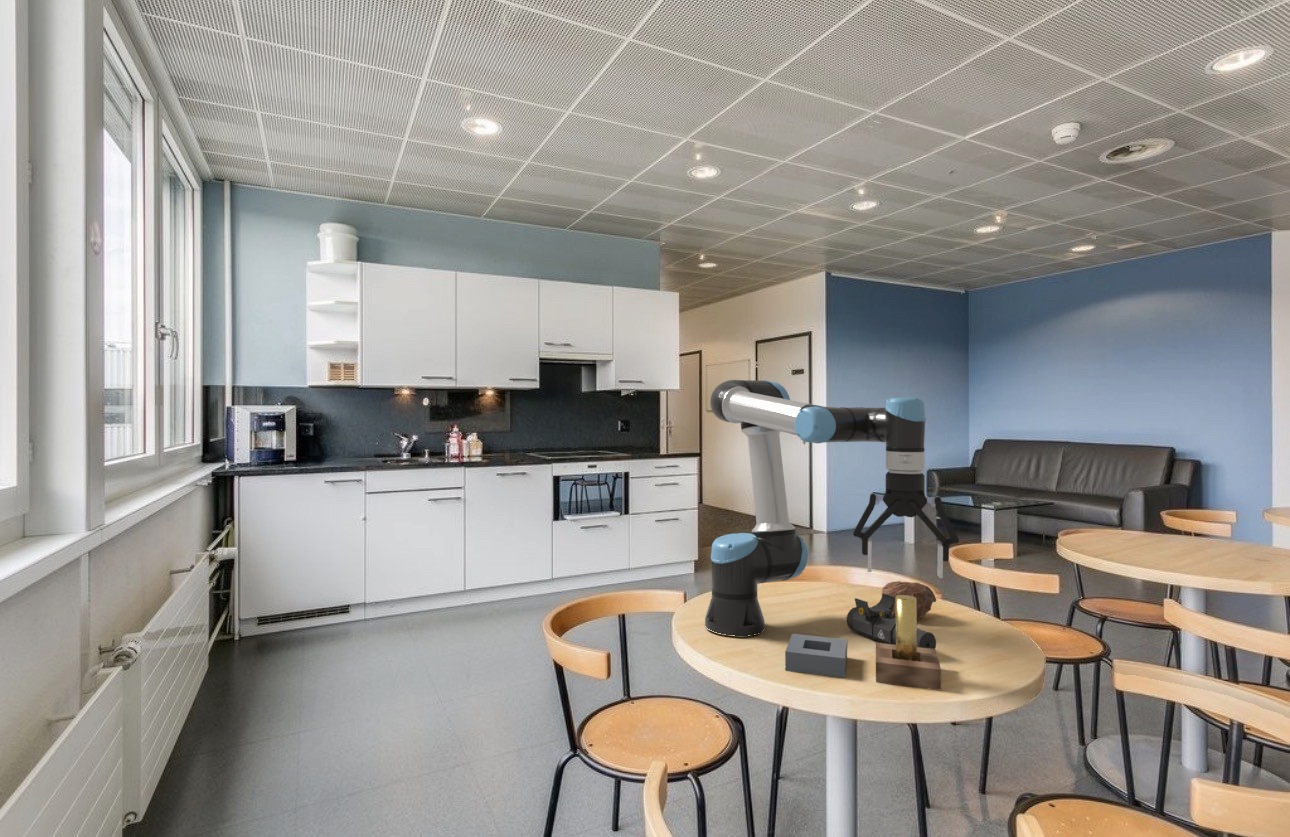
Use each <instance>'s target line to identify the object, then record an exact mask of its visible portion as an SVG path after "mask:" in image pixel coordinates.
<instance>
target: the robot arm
mask: <svg viewBox="0 0 1290 837" xmlns="http://www.w3.org/2000/svg"><path fill="white" fill-rule="evenodd" d="M710 408H711V411H712V413H713V414H714V415H715V417H716V418H718V419H719V420H721V421H723V422H726V423H731V424H740V427H741V428H740V429H741V430H740V431H741V432H742V433H743V434H744V435H745V436H747V442H748V452H749V461H750V471H751V472H750V473H751V481H752V492H753V500H754V502H753V503H754V511H755V521H756V524H755V526H754V528H752V530H751V533H747V532H738V533H728V534H724V535H722V536H718V537H716V538H715V539H714V540H713V542H712V544H711V554H710V560H711V599H710V601H709V604H708V607H707V611H706V614H705V617H704V626H706V627H707V628H708V629H710V630H712V631H714V632H717V633H721V634H726V635H735V636H747V637H749V636H748V635H754V634H757V635H759V634H758V633H760V634H762V633H763V632H764V631H765V630H764V629H766V628H765V626H766V625H765V617H764V614H763V611H762V608H761V605H760V602H759V599H758V598H759V597H758V585H759V584H765V583H771V582H772V583H774V582H779V581H788V580H789V579H790V580H791V579H794V578H795V579H796V578H797V577H798V576H800V575H801V574H802V573H803V571H804V570H805V569H806V568H807V564H808V559H809V553H808V552H809V550H808V547H807V543H806V542H804V539H803V537H801V536H800V535H799V534H797V530H796V526H794V525H793V524H792V523H791V522H790V520H789V510H788V502H787V492H786V491H787V490H786V483H785V476H784V475H785V473H784V465H783V457H782V456H783V455H782V447H781V438H780V433H781V432H783V433H786V434H791V435H795V436H798V438H800V440H801V441H803V442H806V443H813V444H823V443H824V444H825V443H852V442H853V443H854V442H855V443H857V442H861V443H862V442H863V443H864V442H870V443H871V442H872V443H874V442H875V443H876V442H877V443H885V469H886V470H887V472H886V473H885V492H884V495H883V494H876V493H875V492H871V493H870V494H869V501H868V504H867V506H866V508H865V509H864V512H863V513H862V515H861V517H860V519H859V520H858V522H857V524H856V526H855V528H854V529H853V533H852V535H853V537H857V538H859V539H860V540H861V543H862V544H861V554H862V555H863V556H867V573H872V564H873V563H872V555H873V554H872V553H873V552H872V549H873V546H872V545H873V544H872V543H873V542H872V541H873V539H872V538H870V537H872V535H873V534H874V533H875V532H876V531H878V529H879V528H880V527H881V526H882V525H883V524H884V523H885V522H886V521H887V520H888V519H889V518H890V517H891V516H892V515H894V516H896V517H897V518H898V517H899V518H902V517H906V518H915V517H918V518H919V519H920V520H921V521H922V522H923V523H924V524H925V525H926V526H927V528H928V529H929V530H930V531H931V532H932V533H933V535H934V536H935V537H936V538H937V539H938V540H939V542H940V543H938V542H937V578H938V579H943V578H944V577H943V576H944V574H943V572H944V562H949V560H950V545H953V544H958V543H959V542H960V539H959V536H958V535H957V533H956V531H955V529H954V528H953V526H952V524H951V522H950V520H949V517H948V516H947V514H946V513H945V511H944V508H943V503H942V498H941V497H940V496H939V495H934V496H930V497H929V496H927V497H926V494H925V486H926V485H925V481H926V480H925V478H926V476H925V474H924V473H922V472H923V471H925V470H926V467H925V464H926V462H925V460H926V458H925V454H926V452H925V434H926V433H925V432H926V421H927V420H926V419H927V418H926V412H925V408H926V407H925V402H924V400H923V399H922V398H919V397H893V398H891V397H890V398H888V399H886V402H885V407H863V406H860V407H858V406H857V407H835V406H834V407H833V406H823V405H819V404H812V403H807V402H802V401H796V400H791V399H790V396H789V394H788V391H787V389H786V388H785V387H784V386H783V385H781V383H778V382H776V381H769V380H766V379H764V380H752V379H751V380H749V379H748V380H746V379H745V380H742V379H729V380H726V381H723V382H721V383H719V384H718V385H717V386H716V387H715V388H714V389H713V391H712V393H711V396H710ZM882 501H883V504H885V505H886V507H887V508H885V509H884V511H883V512H882V513H881V514H880V515H879V516H878V517H877V518H876V519H875V520H874V522H872V524H871V525H870V526H869V527H868V528H867V529H866V530H865V531H863V528H864V527H865V525H866V523H867V521H868V520H869V518H870V516H871V514H872V512H873V511H874V509H875V506H876V505H879V504H880V502H882ZM927 503H929V504H930V506H931V507H932V508H935V511H936V513H937V515H938V516H939V518H940V521H941V522H942V524H943V526H944V528H945V530H946V532H947V534H948V536H947V537H946V535H944V533H942V531H941V530H940V529H939V528H938V527H937V525H936V524H935V523H934V522H933V521H932V519H930V517H929V516H928V515H927V514H926V512H924V511H923V509H924V507H925V506H926V505H927ZM763 630H764V631H763ZM762 631H763V632H762ZM761 632H762V633H761ZM754 636H755V635H754Z"/></svg>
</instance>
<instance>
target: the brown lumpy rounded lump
mask: <svg viewBox="0 0 1290 837" xmlns="http://www.w3.org/2000/svg"><path fill="white" fill-rule="evenodd" d="M883 593H884V594H887V595H890V596H894V597H895V603H894V608H893V612H892V617H893V618H896V596H898V595H908V596H913V597H915V598H916V610H917V621H919V620H921V619H923V618H924V617H925V616H926V615H927V613H928V612H930V611H931V610H932V605H933V603H936V602H937V598H936V595H935V592H933V590H932V589H931V587H929V586H927V585H925V584H922V583H920V582H917V581H916V582H913V581H912V582H909V581H901V580H896V581H891V582H888V583H886V584H885V586H882V588H881V595H882V594H883Z"/></svg>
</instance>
